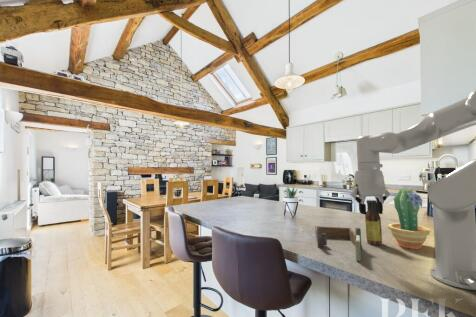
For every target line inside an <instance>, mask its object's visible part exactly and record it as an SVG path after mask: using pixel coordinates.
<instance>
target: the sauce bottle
mask: <svg viewBox="0 0 476 317" xmlns="http://www.w3.org/2000/svg"><path fill="white" fill-rule="evenodd" d="M375 203H377V201H376V199H367V200H366V206H367V207H366V215H364V216H365V221H364V222H365V235H366V236H365V237H366V242H367V243H368V244H370V245H373V246H374V245H375V246H380V245H382V244H383V234H382V230H383V229H382V220H381V216H380V215H381V214H379V213H376V209H375Z"/></svg>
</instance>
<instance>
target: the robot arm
mask: <svg viewBox="0 0 476 317" xmlns="http://www.w3.org/2000/svg"><path fill="white" fill-rule="evenodd" d="M473 126H476V88H475V89H474V90H473V91H471V93H470V94H469V95H468V97H466V98H464V99H463V98H462V99H461V100H458V101H456V102H454V103H452V104H449V105H447V106H445V107H442V108H440V109H437V110H435V111H433V112H430V113H429V114H428V115H426V116H425V117H424V118H423V119H422V120H421V121H419V122H418V123H417V124H415V125H413V126H411V127H409V128H407V129H406V128H405V129H404V130H401V131H399V132H397V133H395V132H392V131H388V132H382V133H377V134H375V135H362V136H359V137H357V139H356V154H357V155H356V158H357V170H356V171H355V174H354V180H353V190H352V191H350V196H351V197H352V199H354V200H355V201H356V202H357V203H358V211H359V213H360V214H362V215H364V216H365V215H366V212H367V207H366V206H367V203H365V202H366V197H374V200H376V202H377V203H375V209H376V213H379V215H383V211H384V208H383V204H384V203H385V201H386V200H387V198H389V197H390V195H391V193H390V192H389V191H388V190H387V189H386V184H385V179H384V178H385V177H384V175H383V174H384V173H383V171H382V170H381V168H383V164H381V163H380V161H381V160H380V153H385V154H394V155H395V154H401V153H403V152H406V151H409V150H411V149H414V148H417V147H420V146H423V145H425V144H428V143H429V142H430V143H431V142H433V141H436V140H438V139H439V140H440V139H441V138H443V137H446V136H448V135H451V134H454V133H456V132H457V133H458V132H459V131H462V130H465V129H467V128H471V127H473ZM427 197H428V200H429V202H430V203H431V204H432V222H433V223H432V224H433V237H434V252H435V256H434V257H435V266H436V267H435V266H434V267H432V268H430V269H429V273H430V276H432V278H434V279H436V281H439V282H441V283H444V284H446V285H449V286H452V287H456V288H459V289H463V290H470V291H476V210H475V209H476V208H475V207H476V158H474V159H473V160H471V161H469V162H468V163H466V164H463V165H462V166H461V167H459V168H457V169H455V170H453V171H452V172H450V173H449V174H446V175H444V176H443V177H441V178H439V179H438V180H436V181H434V182H433V183H431V184H430V186H429V188H428V190H427Z"/></svg>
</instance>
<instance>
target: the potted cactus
mask: <svg viewBox="0 0 476 317" xmlns="http://www.w3.org/2000/svg"><path fill="white" fill-rule="evenodd" d="M393 203H394V209H395V210H396V212H397V216H398V220H399V223H398V222H394V223H389V224H388V225H387V227H388V228H387V229H388V230H390V232H391V235H392V237H393V238H394V239H395V240H396V241H397V242H396V245H398V246H399V247H402V248H407V249H411V250H415V249H416V250H419V249H423V245H424V243H425V242H426V240H427V237H428V235H430V232H431V228H429V227H426V226H422V225H418V224H419V222H418V221H419V219H418V213H419V211H420V207H421V208H422V207H423V198H422V197H421V196H420V195H419V194H417V192H414V191H413V190H412V189H409V188H406V189H399V191H397V193H396V194H395V196H394V197H393Z"/></svg>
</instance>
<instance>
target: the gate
mask: <svg viewBox="0 0 476 317" xmlns="http://www.w3.org/2000/svg"><path fill="white" fill-rule="evenodd" d="M354 247H355V260H356V261H362V260H361V258H362V257H361V250H360V235H356V240H355V245H354Z"/></svg>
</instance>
